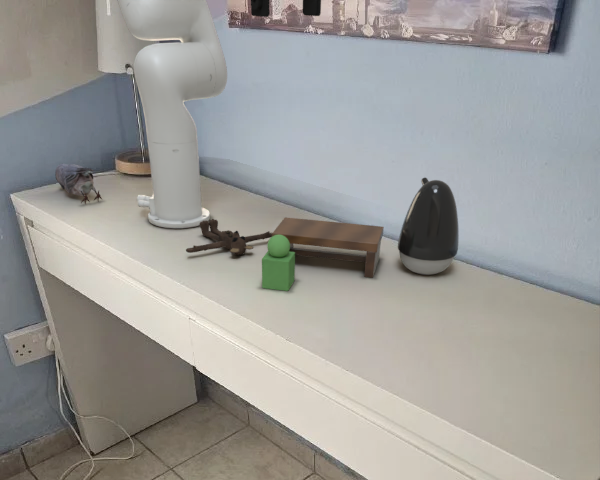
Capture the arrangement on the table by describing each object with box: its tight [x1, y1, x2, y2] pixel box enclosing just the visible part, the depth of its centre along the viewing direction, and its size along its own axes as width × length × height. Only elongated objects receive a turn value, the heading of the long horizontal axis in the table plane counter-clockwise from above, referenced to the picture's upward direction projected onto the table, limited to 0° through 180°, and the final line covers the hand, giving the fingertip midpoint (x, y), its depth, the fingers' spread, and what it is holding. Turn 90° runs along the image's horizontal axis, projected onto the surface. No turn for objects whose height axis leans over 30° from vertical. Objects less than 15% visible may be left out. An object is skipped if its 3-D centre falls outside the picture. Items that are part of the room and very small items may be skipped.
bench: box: [271, 216, 384, 279], centre depth 108 cm, size 18×9×6 cm, turn 77°
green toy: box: [261, 235, 296, 292], centre depth 99 cm, size 4×4×8 cm
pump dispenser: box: [397, 177, 460, 276], centre depth 104 cm, size 10×10×15 cm
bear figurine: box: [185, 218, 273, 256], centre depth 114 cm, size 18×4×14 cm
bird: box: [55, 163, 103, 205], centre depth 137 cm, size 5×16×7 cm, turn 43°
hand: (286, 15), depth 87 cm, fingers open, 9 cm apart
